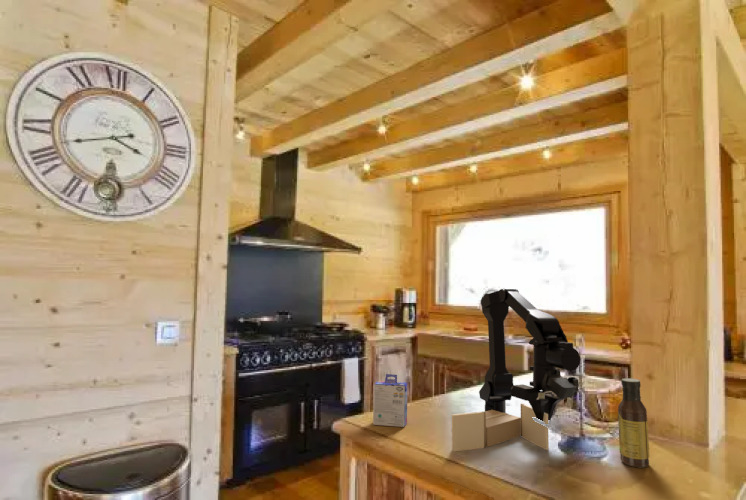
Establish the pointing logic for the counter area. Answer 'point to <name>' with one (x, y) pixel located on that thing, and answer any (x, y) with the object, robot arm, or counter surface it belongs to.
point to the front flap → (468, 431)
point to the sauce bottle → (633, 426)
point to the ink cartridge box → (390, 402)
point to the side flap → (534, 427)
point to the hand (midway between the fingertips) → (544, 423)
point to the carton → (501, 427)
